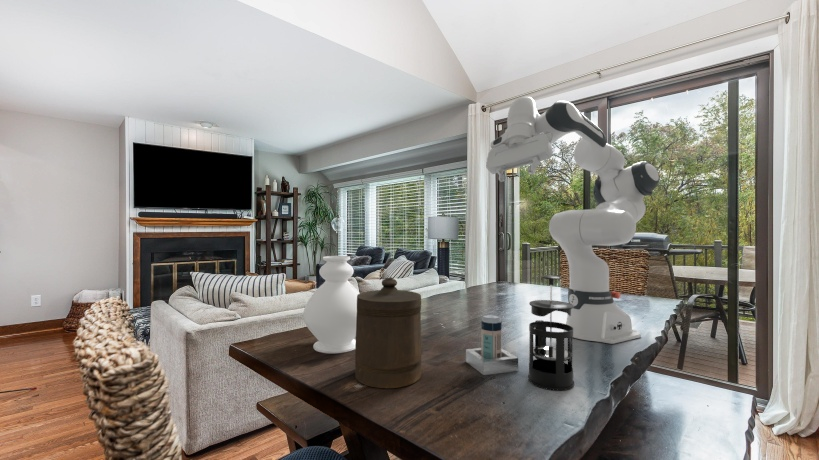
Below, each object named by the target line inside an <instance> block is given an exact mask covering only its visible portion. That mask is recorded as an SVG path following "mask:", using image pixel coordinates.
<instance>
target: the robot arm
mask: <svg viewBox="0 0 819 460" xmlns="http://www.w3.org/2000/svg"><path fill="white" fill-rule="evenodd" d="M506 119H507V120H506V125H507V128H506V130H505V132H504V133H502V134H501V135H500V136H499V137H497V138H496V139H493V140H492V141H491V142H490V145H489V146H490V150H489V152H488V154H487V157H486V164H485V167H486V170H487V171H488V172H489V173H490V174H492V175H495V174H498V181H499V182H500V183H502V182H505V181H506V178H507V176H506V175H505V174H504V172H507V171H510V170H513V169H516V168H521V167H525V166H527V165H530V166H528V167H527V168H528V169H527V173H528V174H529V175H534V174H536V169H537V168H538V167H539V165H540V163H541V162H542V161H546V160H549V159H551V158H552V156H553V145H552V144H553V143H555V142H556V141H558V140H559V139H560V138H562V137H564V136H565V135H567V134H570V133H575V134H577V135H578V136H580V137H581V139H579V141H578V142H577V144H576V146H575V147H574V152H573V159H574V161H575V163H576V165H577V166H578V167H579V168H581V169H583V170H585V171H588V172H590V173H593V174H595V175H597V176H598V177H597V178H596V179H595V180H594V186H593V190H592V195H593V199H594V200H595V202H596V204H598V205H597V206H595V208H593V209H592V208H591V209H590V208H589V209H568V210H563V211H561V212H557V213H555V214H553V216H552V217H551V219H550V220H549V224H548V230H549V233H550V234H549V235H550V236H551V237H552V239H553V240H554V241H556V243H558V244H559V246H560V247H561V248H562V250H563V251H564V254H565V256H566V259H567V263H568V273H569V287H568V288H567V289H568V290H567V300H568V302H567V303H570V304H572V305H573V306H574V307H573V308H572V309H571V316H569V315H568V314H567V313H566V314H567V316H566V320H565V324H567V325H569V326H571V327H573V336H572V338H573V339H574V338H575V339H578V340H582V341H590V342H591V341H592V342H598V343H599V342H600V343H604V344H605V343H606V344H610V345H611V344H612V345H613V344H618V343H622V342H626V341H631V340H634V339H639V338H641V337H642V334H641V332H638V331H637V330H635V329H633V324H632V322H633V321H632V319H631V316H630V315H629V314H628V313H627V312H626V311H624V310H623V309H622V308H621V307H620V306H618V305H617V304H616V303H614V298H615V299H618V300H619V299H620V298H621V296H622V295H621V294H620V292H619V291H614V290H613V291H611V290H610V268H609V264H608V263H607V261H605V260H604V259H602V258H601V257H599V256H597V254H595V252H594V250H593V246H605V247H609V246H611V247H612V246H620V245H626V244H628V243H629V242H630V241H632V239H633V238H634V237H635V235H636V233H637V232H636V231H637V223H638V222H639V221H640V220H641V219H642V218H644V216H645V214H646V209H647V208H646V204H645V202H644V198H645V197H646V196H651V195H653V190H655V189H656V188H657V186H658V185H659V184H660V180H661V179H660V178H661V177H660V173H659V171H658V169H657V168H656V167H655V165H653V163H650V162H648V161H645V160H642V161H639V162H636V163H635V162H634V163H633V164H632V165H630V166H627V167H625V164H626V161H625V160H626V158H625V156H624V154H623V152H621V151H620V150H618V148H616V147H615V146H613V145H612V144H609V143H608V141H607V136H606V134H605V132H604V131H603V130H602V129H601V128H600V127H599V126H598V125H596V124H595V123H594V122H593V121H592V120H590V119H589V118H588V117H586V115H584V114H583V113H581V111H580V110H579V109H578V108H577V106H576V105H575V104H574V103H572V102H571V101H567V100H557V101H556V102H554V103H553V104H552V105H550V106H549V107H548V109H547V110H545V111H544V112H543V113H541V114H540V113H539V112H538V109H537V108H536V102H535V100H534V99H533V98H532V97H531V96H521V97H518V98H516V99H515V100H514V101H513V102H512V103H511V104H510V106H509V109H508V114H507V118H506ZM624 167H625V168H624ZM563 332H567V331H566V330H563Z"/></svg>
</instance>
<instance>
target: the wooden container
mask: <svg viewBox="0 0 819 460" xmlns="http://www.w3.org/2000/svg"><path fill="white" fill-rule="evenodd" d="M397 284H398V281H397V280H396V279H394V277H385V278H383V279H382V280H381V285H382V287H381V289H377V290H368V291H364V292H359V293H360V294H358V295H357V317H356V337H355V339H356V346H355V349H354V351H355V354H354V355H355V357H354V359H355V364H354V365H355V366H354V367H355V371H354V372H355V375H354V376H355V379H356V380H357V381H358V382H359V383H360V384H362V385H365V386H367V387H371V388H375V389H376V388H377V389H398V388H399V389H400V388H403V387H407V386H410V385H413V384H415V383H416V382H418V381H419V380H420V378H421V376H422V325H421V324H422V319H421V318H422V316H421V315H422V314H421V311H422V294H421V293H418V292H415V291H410V290H403V289H401V290H400V289H397V287H396V286H397Z"/></svg>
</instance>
